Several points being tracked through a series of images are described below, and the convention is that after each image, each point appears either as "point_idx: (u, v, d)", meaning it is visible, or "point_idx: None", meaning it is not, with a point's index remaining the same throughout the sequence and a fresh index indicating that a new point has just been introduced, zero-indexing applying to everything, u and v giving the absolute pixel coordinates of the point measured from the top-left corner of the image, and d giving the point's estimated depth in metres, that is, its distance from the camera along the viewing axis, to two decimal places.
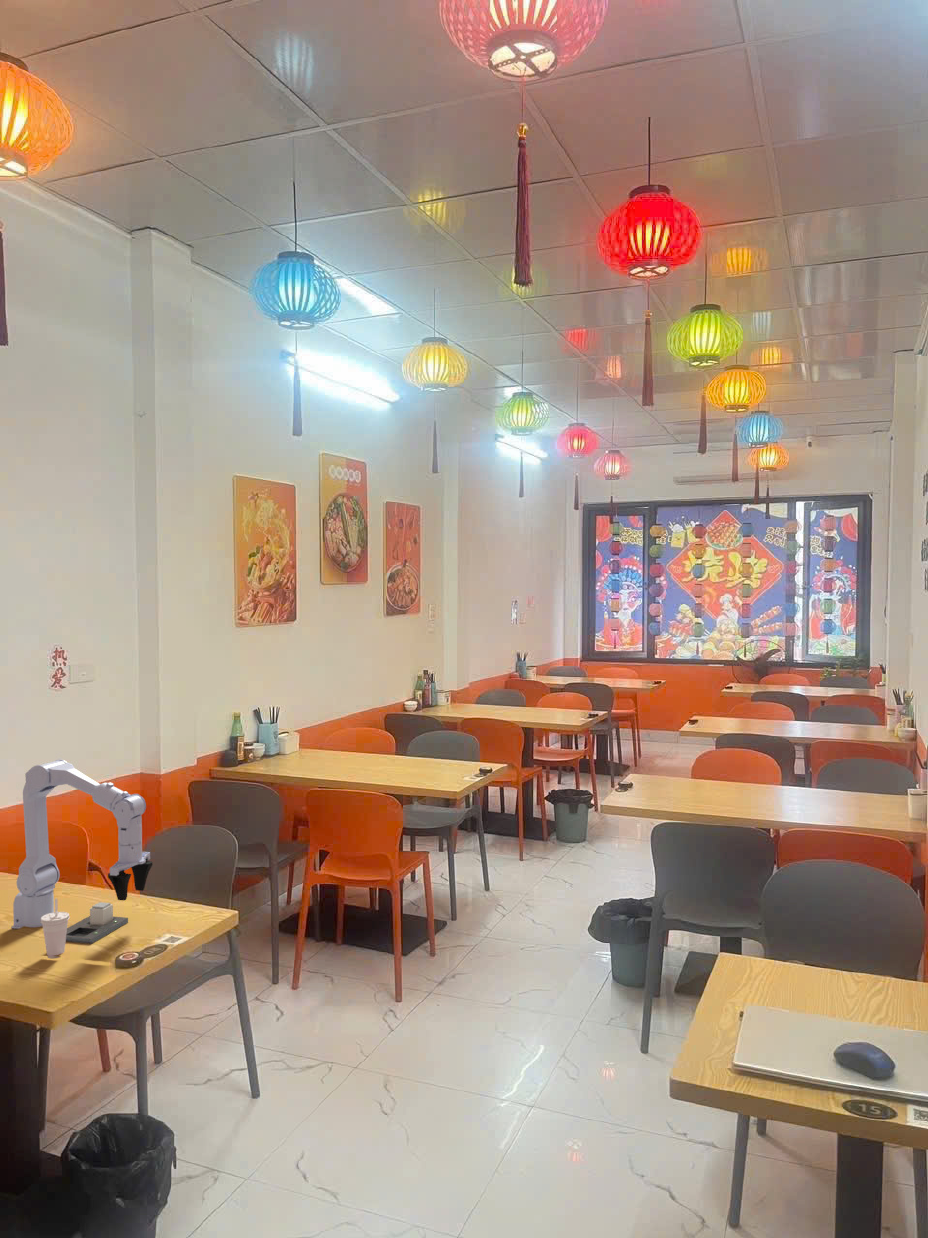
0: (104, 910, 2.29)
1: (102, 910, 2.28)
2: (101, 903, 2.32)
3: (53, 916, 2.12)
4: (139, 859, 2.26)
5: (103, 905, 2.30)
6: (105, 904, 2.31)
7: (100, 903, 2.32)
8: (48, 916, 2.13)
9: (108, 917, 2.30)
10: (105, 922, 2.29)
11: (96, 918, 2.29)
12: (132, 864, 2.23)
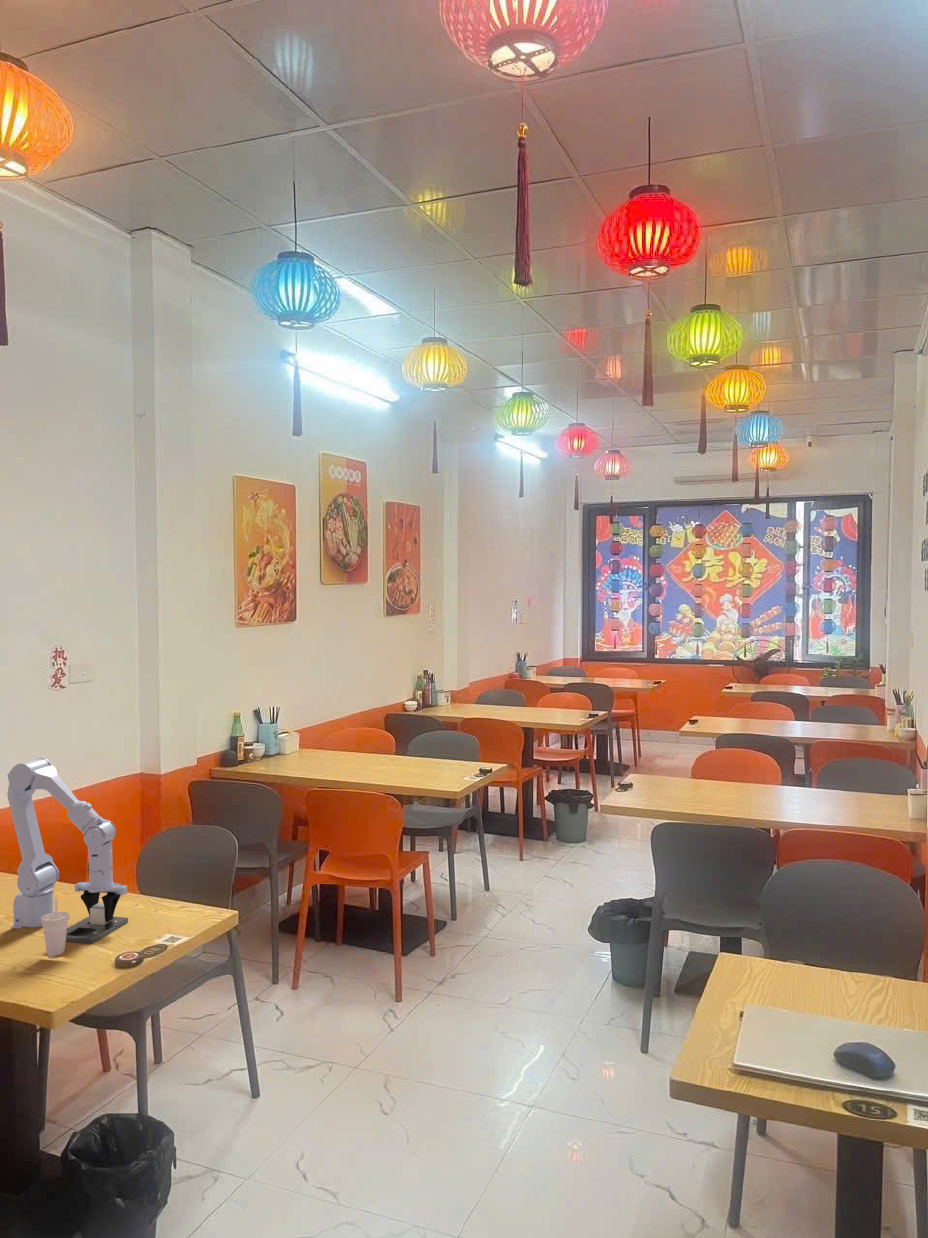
0: (104, 910, 2.29)
1: (102, 910, 2.28)
2: (101, 903, 2.32)
3: (53, 916, 2.12)
4: (93, 887, 2.28)
5: (103, 905, 2.30)
6: None
7: (100, 903, 2.32)
8: (48, 916, 2.13)
9: None
10: (105, 922, 2.29)
11: (96, 918, 2.29)
12: (86, 888, 2.29)
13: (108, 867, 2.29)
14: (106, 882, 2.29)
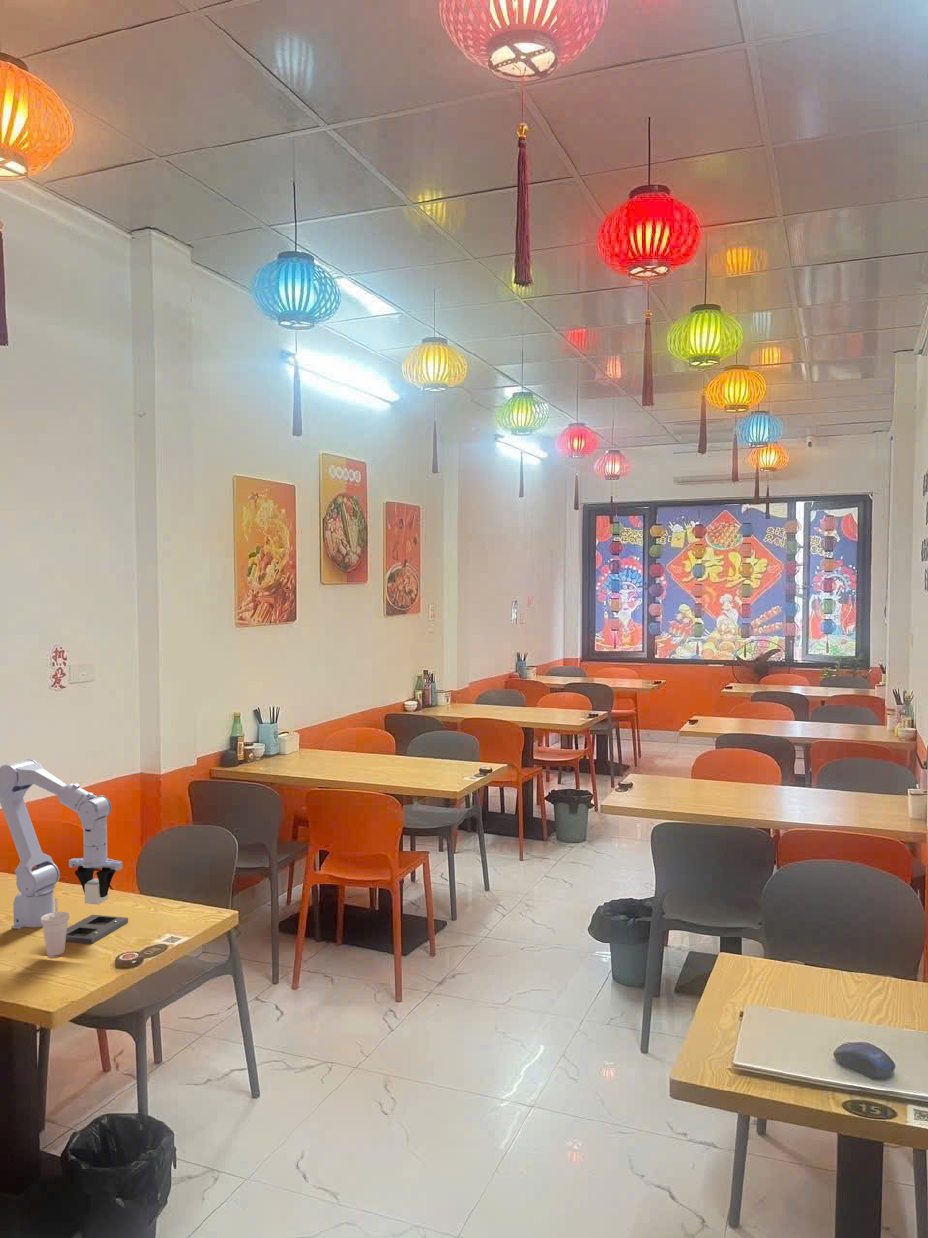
0: None
1: (97, 886, 2.26)
2: (96, 879, 2.30)
3: (53, 916, 2.12)
4: (87, 862, 2.26)
5: (98, 881, 2.28)
6: None
7: (95, 879, 2.30)
8: (48, 916, 2.13)
9: None
10: (100, 898, 2.27)
11: (91, 894, 2.27)
12: (81, 864, 2.27)
13: (102, 843, 2.27)
14: (101, 857, 2.26)
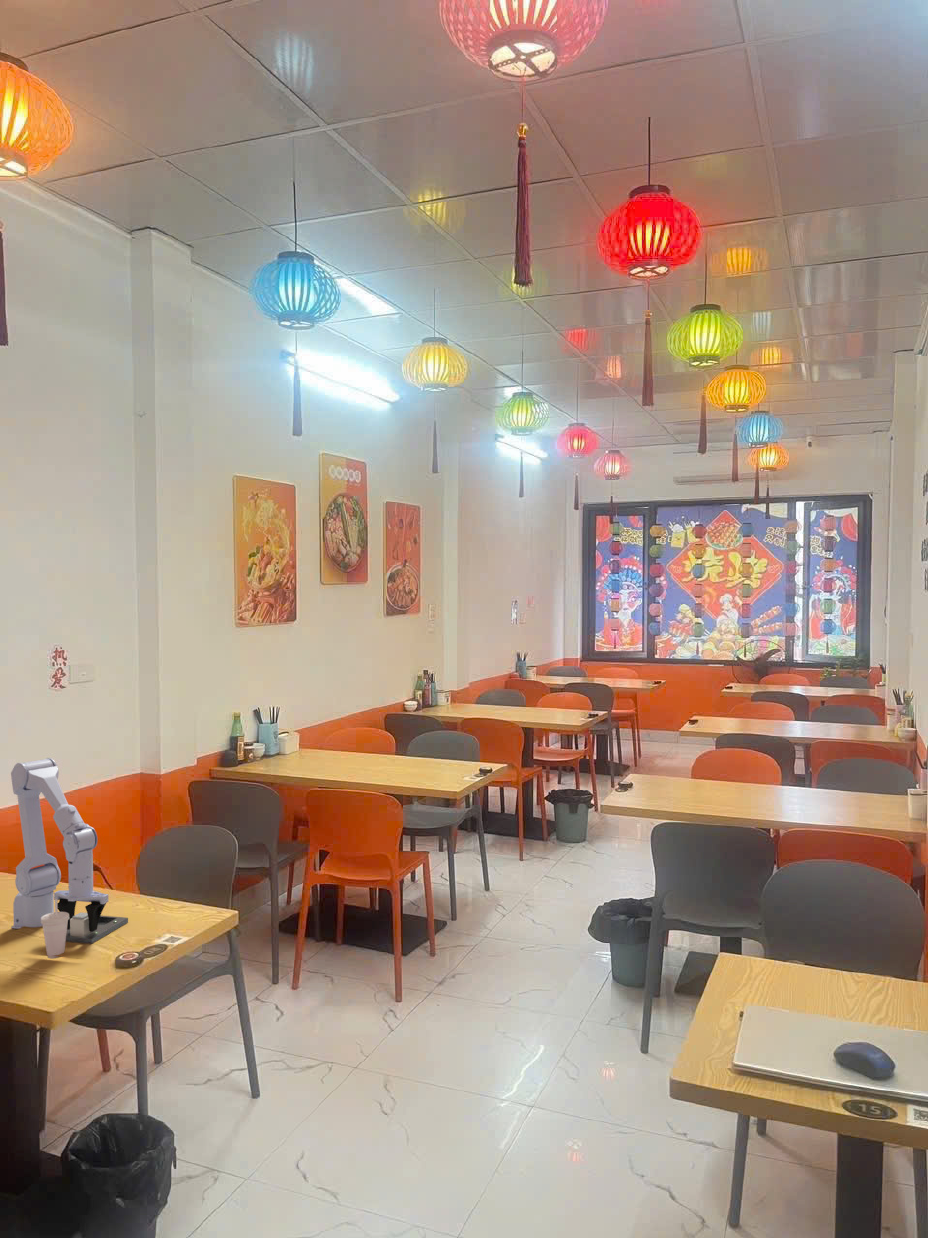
0: (85, 921, 2.21)
1: (82, 921, 2.21)
2: (82, 913, 2.24)
3: (53, 916, 2.12)
4: (72, 895, 2.20)
5: (84, 915, 2.22)
6: (86, 914, 2.23)
7: (81, 913, 2.24)
8: (48, 916, 2.13)
9: None
10: (86, 933, 2.21)
11: (76, 929, 2.21)
12: (66, 897, 2.21)
13: (84, 876, 2.20)
14: (86, 890, 2.21)
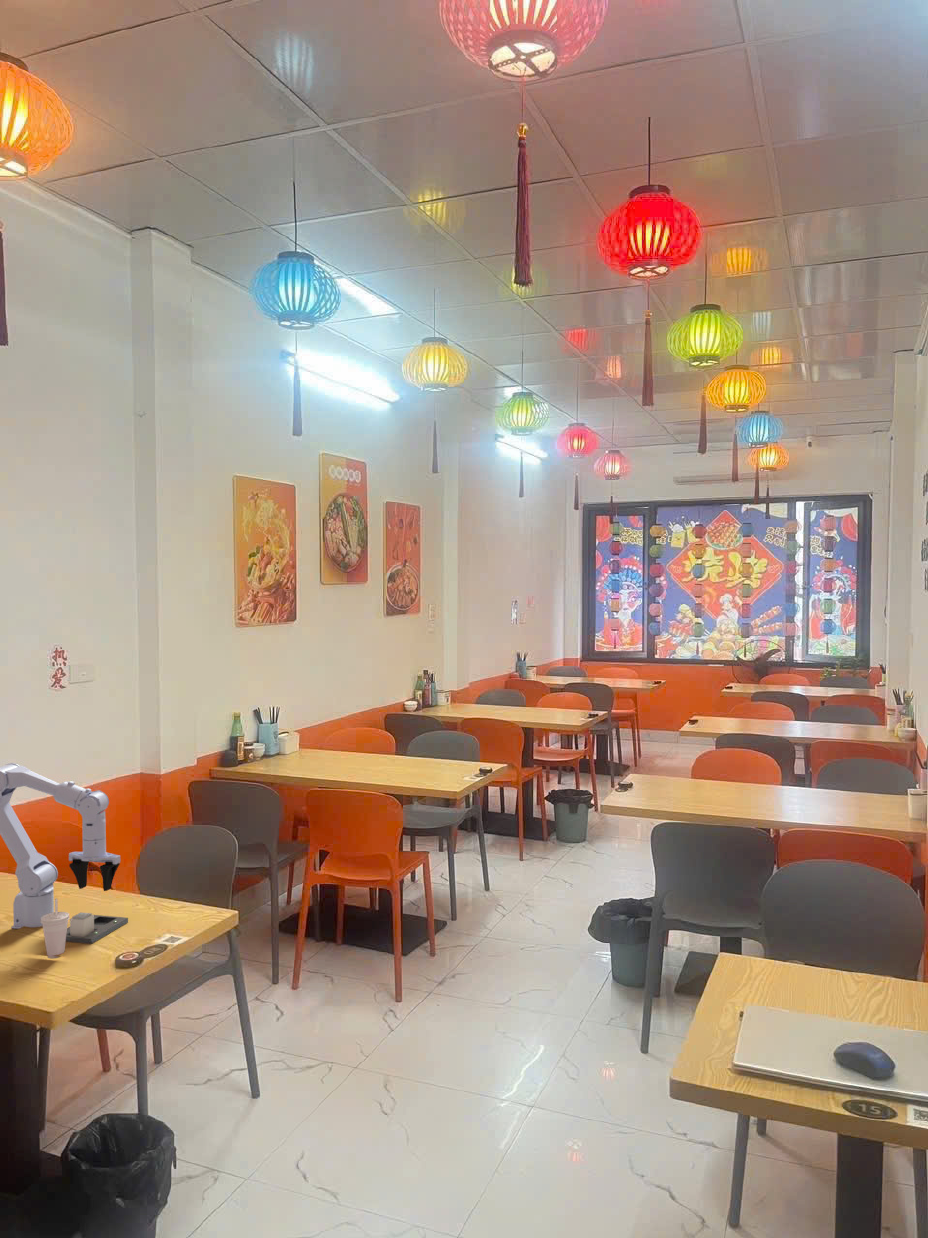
0: (85, 921, 2.21)
1: (82, 921, 2.21)
2: (82, 913, 2.24)
3: (53, 916, 2.12)
4: (86, 856, 2.30)
5: (84, 915, 2.22)
6: (86, 914, 2.23)
7: (81, 913, 2.24)
8: (48, 916, 2.13)
9: (89, 928, 2.23)
10: (86, 933, 2.21)
11: (76, 929, 2.21)
12: (80, 857, 2.31)
13: (102, 836, 2.32)
14: (99, 851, 2.31)
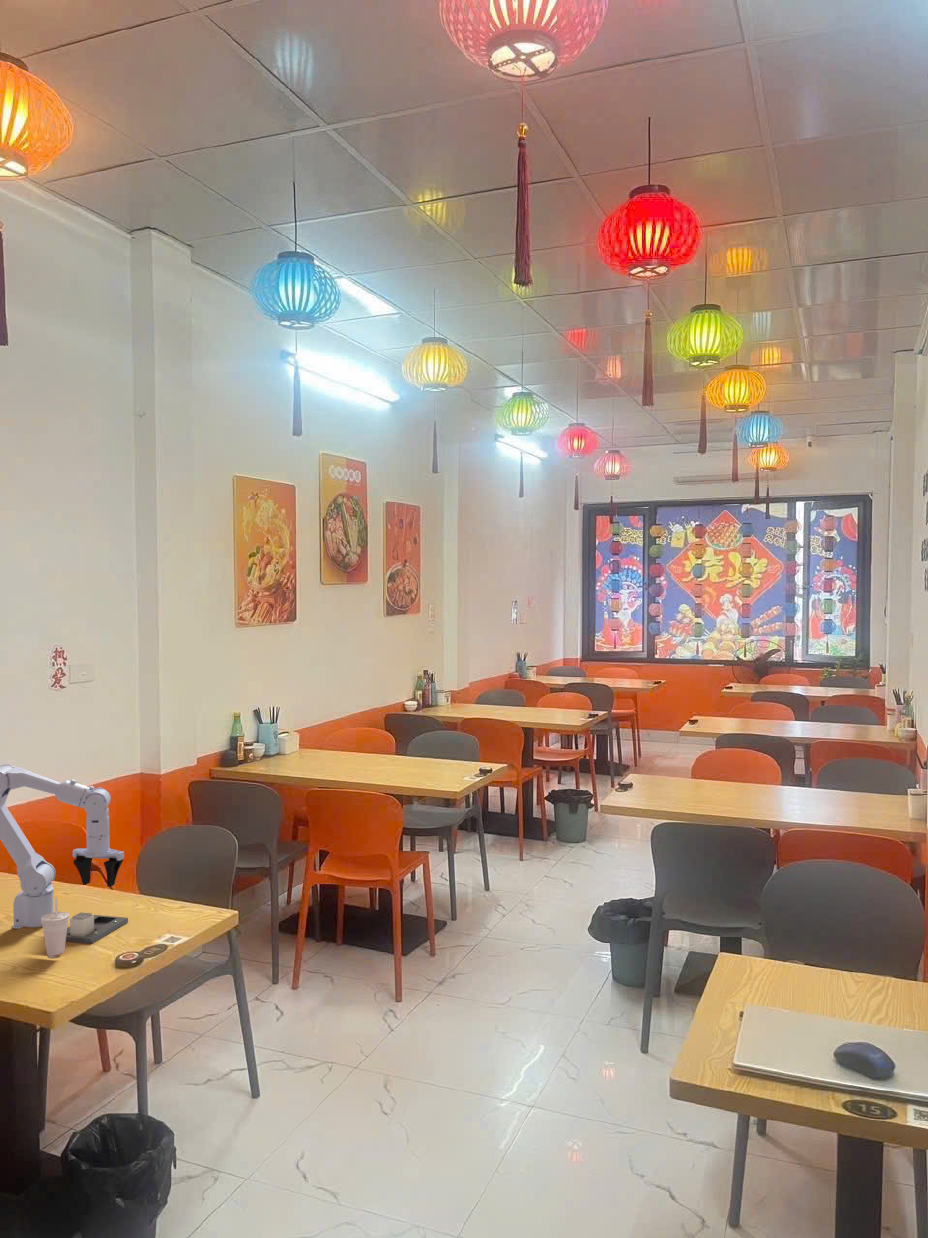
0: (85, 921, 2.21)
1: (82, 921, 2.21)
2: (82, 913, 2.24)
3: (53, 916, 2.12)
4: (90, 852, 2.33)
5: (84, 915, 2.22)
6: (86, 914, 2.23)
7: (81, 913, 2.24)
8: (48, 916, 2.13)
9: (89, 928, 2.23)
10: (86, 933, 2.21)
11: (76, 929, 2.21)
12: (84, 854, 2.34)
13: (107, 832, 2.35)
14: (103, 847, 2.34)
